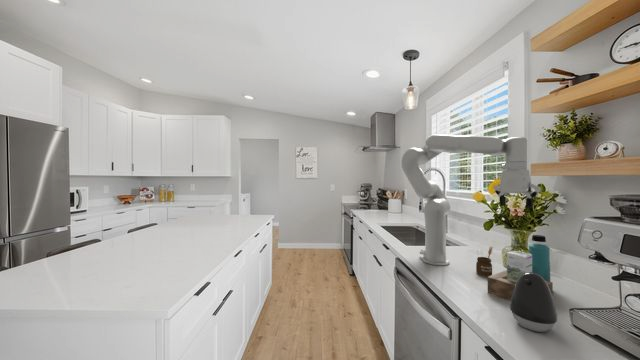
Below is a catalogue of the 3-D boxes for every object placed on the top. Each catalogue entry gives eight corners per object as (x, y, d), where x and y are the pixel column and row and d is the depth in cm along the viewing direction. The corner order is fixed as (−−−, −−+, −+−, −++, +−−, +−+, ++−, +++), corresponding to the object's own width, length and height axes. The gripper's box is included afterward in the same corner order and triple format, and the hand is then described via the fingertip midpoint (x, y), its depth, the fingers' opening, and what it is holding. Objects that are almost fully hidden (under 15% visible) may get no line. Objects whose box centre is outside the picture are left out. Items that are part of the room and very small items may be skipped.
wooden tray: (487, 293, 94) (487, 276, 94) (506, 285, 101) (506, 270, 101) (534, 309, 82) (534, 291, 82) (552, 299, 89) (552, 282, 89)
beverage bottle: (554, 291, 96) (554, 237, 96) (534, 289, 97) (534, 236, 97) (543, 284, 102) (543, 234, 102) (524, 283, 104) (524, 233, 104)
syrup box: (532, 294, 91) (532, 253, 91) (525, 298, 88) (525, 256, 88) (513, 289, 96) (513, 249, 96) (506, 292, 93) (506, 252, 93)
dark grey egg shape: (503, 324, 74) (503, 271, 74) (517, 313, 80) (517, 264, 80) (550, 342, 66) (550, 282, 66) (561, 329, 72) (561, 274, 72)
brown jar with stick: (473, 272, 116) (473, 245, 116) (486, 271, 116) (486, 245, 116) (481, 277, 110) (481, 248, 110) (496, 276, 111) (496, 248, 111)
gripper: (489, 167, 116) (489, 205, 116) (536, 165, 101) (535, 209, 101) (498, 167, 119) (498, 204, 119) (545, 166, 104) (544, 208, 104)
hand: (515, 206), depth 110 cm, fingers open, 9 cm apart
